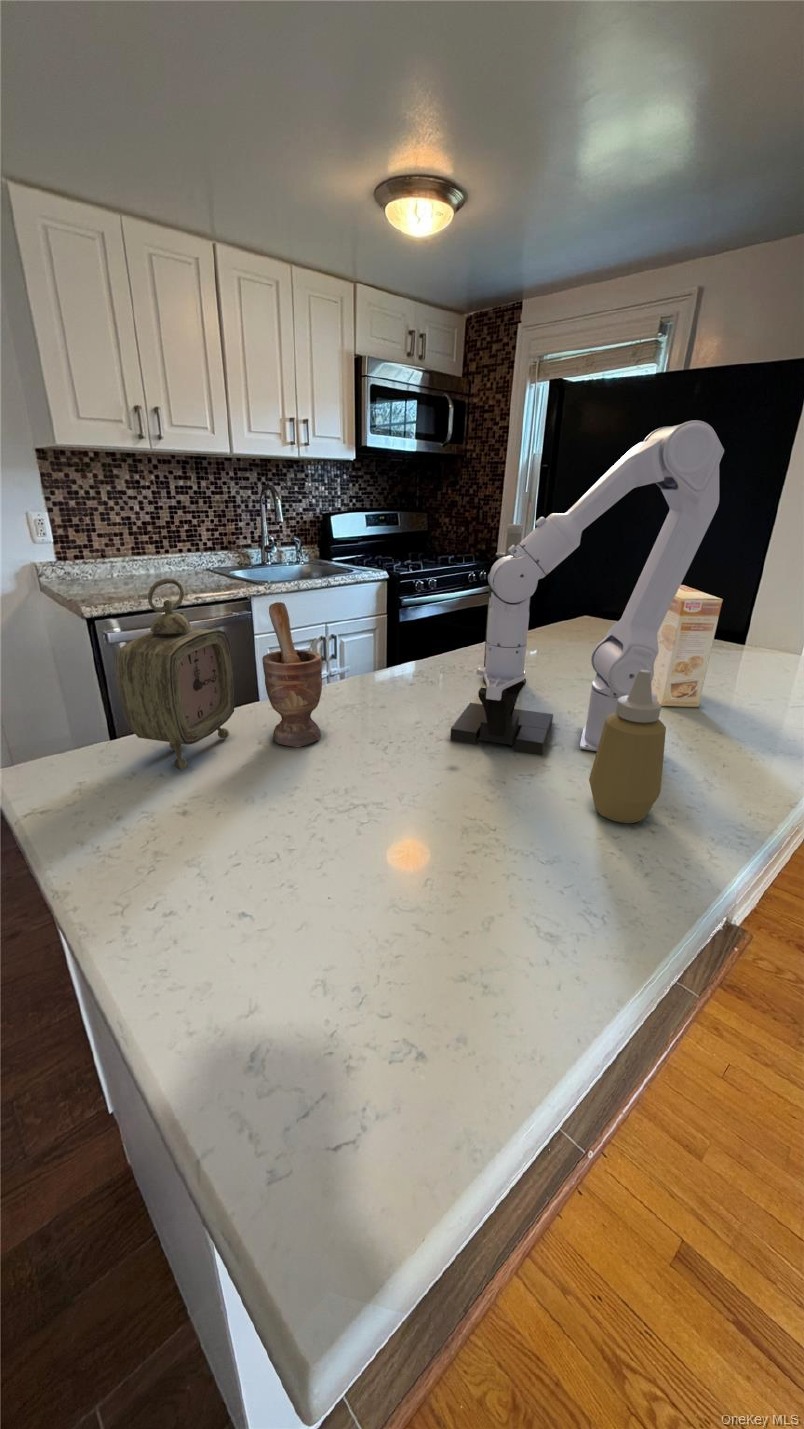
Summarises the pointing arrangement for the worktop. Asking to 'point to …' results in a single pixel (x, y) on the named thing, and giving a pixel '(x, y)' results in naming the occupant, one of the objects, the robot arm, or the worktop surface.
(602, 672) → the robot arm
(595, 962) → the worktop surface
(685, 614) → the coffeecake box
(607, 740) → the squeeze bottle
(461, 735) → the base pad
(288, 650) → the mortar and pestle
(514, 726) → the small dark rectangular block
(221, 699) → the tabletop clock
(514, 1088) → the worktop surface
